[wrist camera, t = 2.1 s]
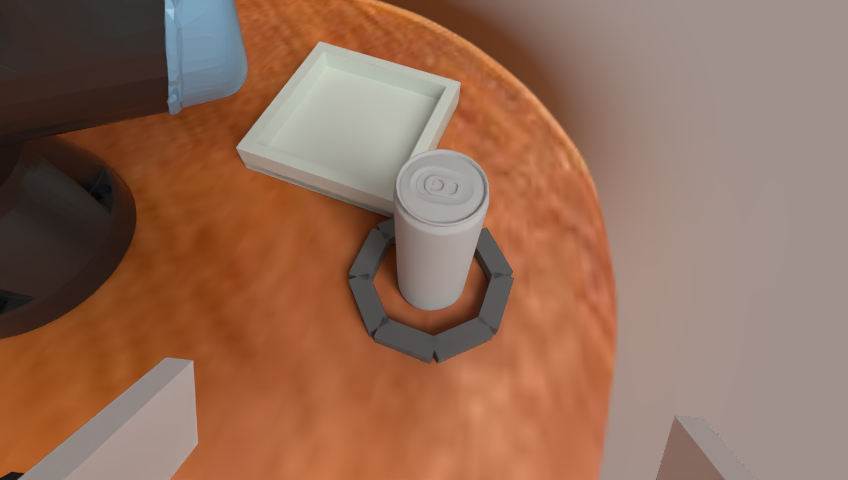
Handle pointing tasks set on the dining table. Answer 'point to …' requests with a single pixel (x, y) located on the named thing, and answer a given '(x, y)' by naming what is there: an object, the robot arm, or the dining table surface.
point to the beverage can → (437, 225)
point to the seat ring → (414, 339)
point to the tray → (350, 126)
